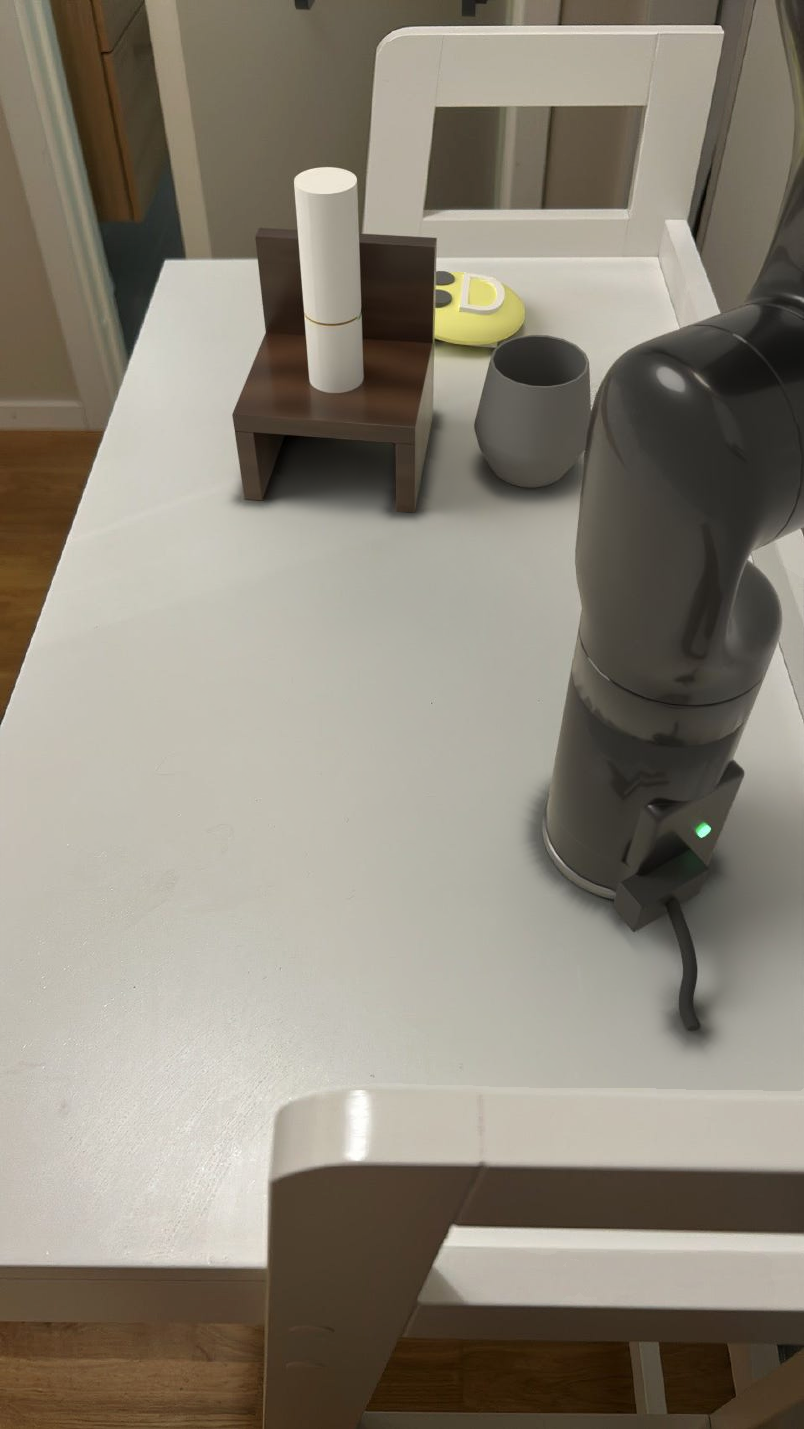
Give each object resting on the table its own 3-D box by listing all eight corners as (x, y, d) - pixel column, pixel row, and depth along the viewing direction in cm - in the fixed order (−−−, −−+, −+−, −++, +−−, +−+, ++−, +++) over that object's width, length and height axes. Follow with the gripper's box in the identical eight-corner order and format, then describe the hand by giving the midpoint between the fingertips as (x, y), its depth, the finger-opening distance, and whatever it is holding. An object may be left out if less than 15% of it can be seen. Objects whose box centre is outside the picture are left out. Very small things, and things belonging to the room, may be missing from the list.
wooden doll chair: (414, 513, 84) (416, 328, 72) (244, 499, 85) (217, 315, 73) (432, 417, 93) (436, 237, 81) (278, 406, 94) (259, 227, 82)
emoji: (529, 265, 104) (409, 251, 104) (527, 329, 96) (397, 313, 96) (523, 302, 107) (406, 288, 107) (520, 367, 99) (394, 352, 99)
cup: (605, 484, 86) (625, 376, 79) (507, 515, 84) (517, 406, 76) (547, 424, 92) (560, 318, 84) (453, 451, 89) (457, 344, 82)
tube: (344, 399, 80) (334, 199, 69) (298, 383, 82) (281, 185, 71) (373, 372, 83) (369, 175, 71) (329, 358, 84) (317, 162, 73)
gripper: (182, -463, 40) (235, 28, 52) (560, -463, 38) (522, 40, 51) (229, -468, 44) (267, -18, 57) (565, -468, 43) (530, -8, 56)
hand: (387, 9), depth 54 cm, fingers open, 8 cm apart
